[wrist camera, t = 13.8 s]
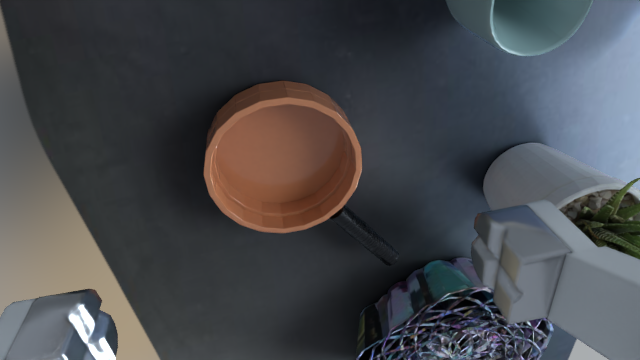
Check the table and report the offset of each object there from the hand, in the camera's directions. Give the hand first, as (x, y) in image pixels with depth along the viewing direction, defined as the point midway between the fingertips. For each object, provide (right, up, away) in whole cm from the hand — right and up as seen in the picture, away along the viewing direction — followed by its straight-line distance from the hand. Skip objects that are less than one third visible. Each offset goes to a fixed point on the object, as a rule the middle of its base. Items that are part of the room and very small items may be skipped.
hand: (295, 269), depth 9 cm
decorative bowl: (+16, -17, +52) cm, 57 cm away
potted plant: (+23, +3, +41) cm, 47 cm away
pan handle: (+5, -3, +38) cm, 39 cm away
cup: (+14, +19, +28) cm, 37 cm away
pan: (-3, +5, +34) cm, 34 cm away
